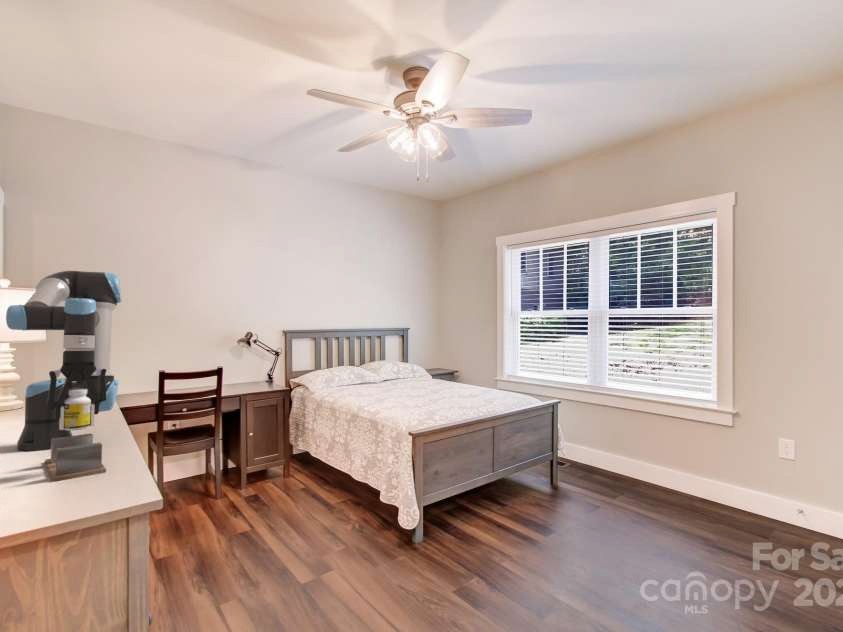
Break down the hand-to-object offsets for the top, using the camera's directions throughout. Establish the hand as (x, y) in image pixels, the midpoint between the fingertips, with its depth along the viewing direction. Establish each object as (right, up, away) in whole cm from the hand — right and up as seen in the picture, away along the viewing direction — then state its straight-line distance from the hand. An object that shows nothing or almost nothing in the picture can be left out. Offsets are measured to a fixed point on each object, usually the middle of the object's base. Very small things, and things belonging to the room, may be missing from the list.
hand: (76, 427), depth 132 cm
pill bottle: (0, -1, 0) cm, 1 cm away
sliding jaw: (-8, -12, +8) cm, 16 cm away
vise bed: (-2, -12, +1) cm, 13 cm away
